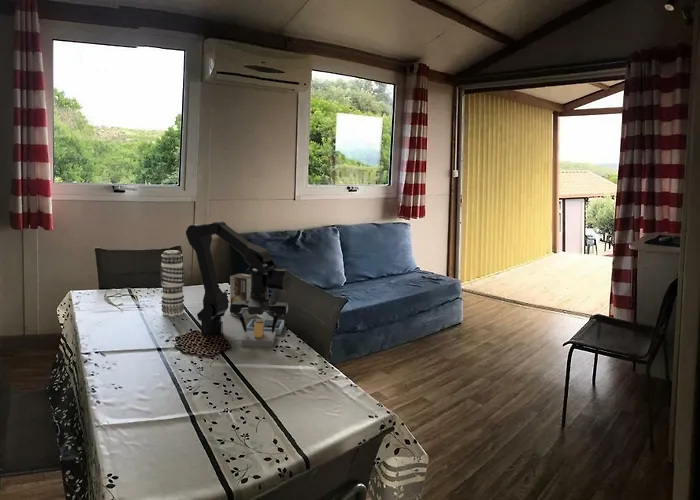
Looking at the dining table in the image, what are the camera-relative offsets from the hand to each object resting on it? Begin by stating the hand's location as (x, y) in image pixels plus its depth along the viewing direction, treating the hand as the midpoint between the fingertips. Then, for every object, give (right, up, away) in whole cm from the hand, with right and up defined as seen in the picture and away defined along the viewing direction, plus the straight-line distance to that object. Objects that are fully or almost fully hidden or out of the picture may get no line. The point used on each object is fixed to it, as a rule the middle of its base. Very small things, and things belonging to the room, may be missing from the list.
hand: (259, 332), depth 182 cm
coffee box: (-12, +2, +33) cm, 35 cm away
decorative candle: (-40, +2, +32) cm, 51 cm away
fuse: (0, -3, 0) cm, 3 cm away
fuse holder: (0, -4, +1) cm, 4 cm away
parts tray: (0, -2, +13) cm, 14 cm away
